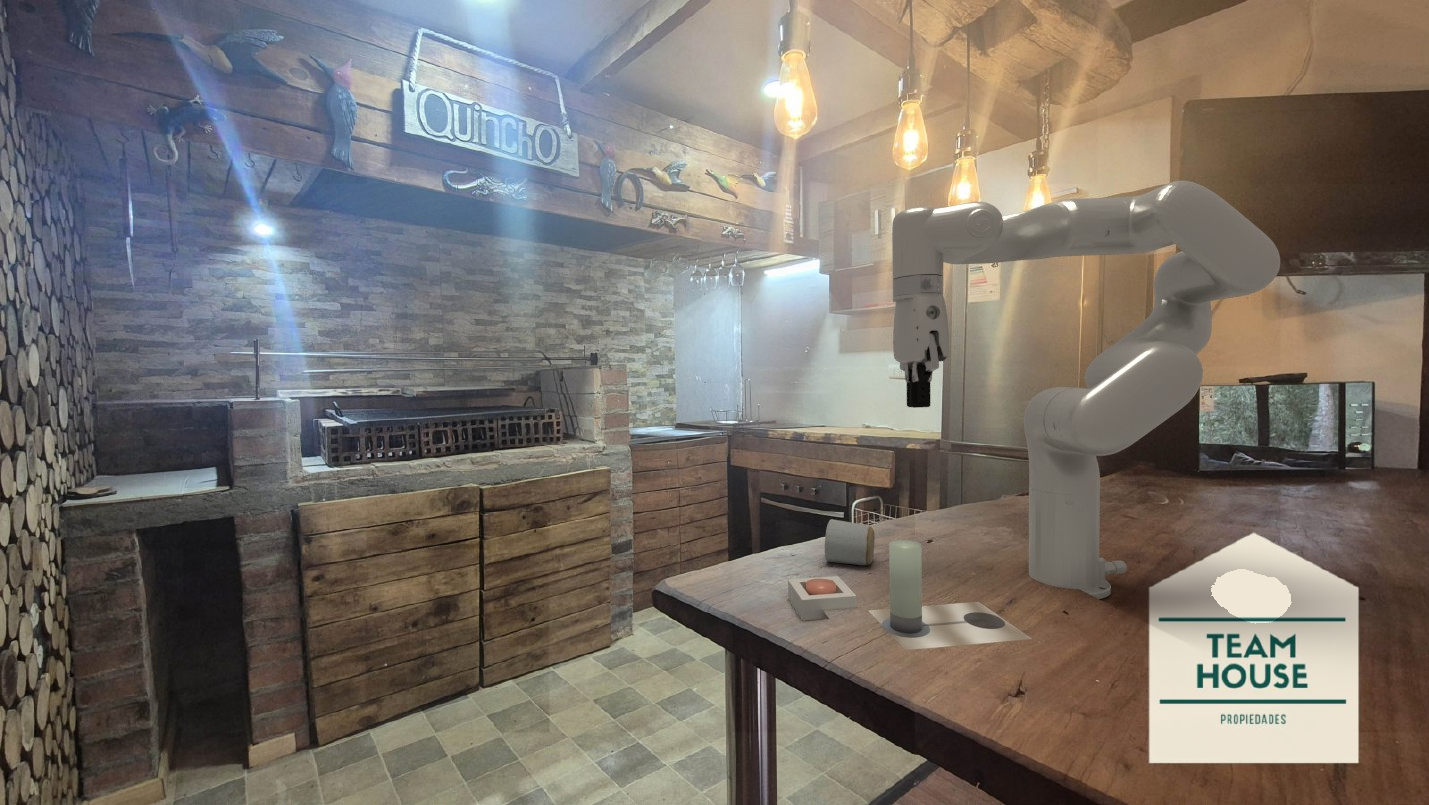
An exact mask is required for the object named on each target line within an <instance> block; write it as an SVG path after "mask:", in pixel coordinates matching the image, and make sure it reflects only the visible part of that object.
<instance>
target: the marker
mask: <svg viewBox="0 0 1429 805" xmlns="http://www.w3.org/2000/svg"><path fill="white" fill-rule="evenodd" d="M888 545H889V547H888V554H889V562H888V563H889V609H890V627H891V628H892V629H894V630H895V631H898V632H901V633H907V634H914V633H918V632H920V631H921V630H922V606H923V589H922V588H923V579H922V578H923V575H922V574H923V572H922V568H923V565H922V564H923V563H922V561H923V559H922V558H923V555H922V554H923V550H922V549H923V548H922V544H921V543H920V542H917V541H914V540H908V539H895V540H892V541H889V544H888Z"/></svg>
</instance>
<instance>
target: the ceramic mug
mask: <svg viewBox="0 0 1429 805" xmlns="http://www.w3.org/2000/svg"><path fill="white" fill-rule="evenodd" d="M875 536H876V535H875V530H874V528H873V527H872V526H870V525H867V524H864V523H863V524H862V523H858V522H857V523H856V522H850V521H844V520H837V519H833V518H831V519H829V521H828V523H827V526H826V530H825V537H824V558H825V560H826V561H827V562H829V563H836V564H837V563H838V564H846V565H847V564H849V565H855V566H869V565H870V564H871V563H872V562H873V558H874V552H875V541H876V540H875V538H876V537H875Z"/></svg>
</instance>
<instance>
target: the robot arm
mask: <svg viewBox="0 0 1429 805" xmlns="http://www.w3.org/2000/svg"><path fill="white" fill-rule="evenodd" d="M891 226H892V229H891V231H892V234H891V235H892V240H891V241H892V243H891V244H892V302H893V303H895V305H894V318H893V335H892V336H893V337H892V339H893V340H892V345H893V346H892V347H893V348H892V349H893V352H892V353H893V358H894V360H895V361H896V362H897V363H899V369H900V370H901V371H903V372H904V380H905V382H906V407H907V408H915V409H916V408H930V407H931V382H932V380H933V372H934V371H936V370H938V369H939V368H940V362H945V361H946V360H948V358H949V356H950V333H949V321H948V313H947V311H948V310H947V305H946V301H945V295H944V263H945V264H950V265H975V264H976V265H977V264H979V265H981V264H996V263H1007V262H1009V263H1010V262H1018V261H1031V260H1032V261H1033V260H1043V259H1044V260H1045V259H1050V258H1051V259H1052V258H1059V257H1061V258H1062V257H1083V256H1085V257H1086V256H1090V257H1091V256H1112V255H1113V256H1115V255H1135V254H1136V255H1138V254H1144V253H1150V252H1152V251H1157V250H1159V249H1164V248H1167V247H1169V246H1173V245H1175V246H1176V247H1177V248H1178V249H1180V251H1179V252H1177V253H1174V254H1172V255H1171V256H1169V257H1168V258H1167V259H1165V260H1164V261H1163V262H1162V264H1160V266H1159V267H1158V269H1157V271H1156V273H1155V276H1154V280H1153V294H1154V295H1153V296H1154V298H1153V299H1154V301H1153V302H1154V303H1153V308H1152V311H1151V312H1150V315H1149V316H1148V317H1147V318H1145V320H1144V321H1142V322H1141V323H1140V324H1139V325H1137V327H1135V328H1134V329H1132V330H1131V331H1130V332H1129V333H1127V334H1125V335H1124V336H1123V337H1121V338H1119V340H1118V341H1116V342H1115V343H1114V344H1112V345H1111V346H1110V347H1108V348H1106V349H1105V350H1103V351H1102V352H1101V353H1099V354H1098V355H1097V356H1096V357H1095V358H1094V359H1093V360H1092V361H1091V362H1090V363H1089V365H1088V367H1087V369H1086V370H1085V374H1084V384H1085V386H1086V388H1084V387H1075V386H1074V387H1072V386H1071V387H1069V386H1055V387H1050V388H1048V389H1047V388H1046V389H1044V390H1042V391H1041V392H1038V393H1037V394H1035V395H1034V396H1033V397H1032V398H1031V399H1030V400H1029V402H1028V403H1027V406H1026V407H1025V410H1024V415H1023V428H1024V430H1023V431H1024V436H1025V440H1026V445H1027V446H1026V447H1027V453H1028V454H1027V456H1028V467H1029V468H1028V473H1029V475H1028V476H1029V478H1028V479H1029V480H1028V481H1029V483H1028V484H1029V485H1028V575H1029V576H1030V578H1031V579H1034V580H1035V581H1037V582H1040V583H1042V584H1045V585H1048V586H1052V587H1056V588H1061V589H1068V590H1080V591H1082V592H1084V593H1086V594H1088V595H1089V596H1092V597H1093V598H1096V599H1098V600H1101V599H1105V598H1107V597H1108V596H1110V594H1112V592H1111V591H1112V586H1111V584H1110V582H1109V581H1108V580H1107V579H1106V577H1109V575H1110V574H1114V575H1115V574H1125V573H1127V571H1128V567H1127V564H1126V563H1125V561H1123V560H1111V561H1106V560H1105V558H1104V557H1100V510H1101V509H1100V505H1101V503H1100V502H1101V501H1100V499H1101V498H1100V496H1101V494H1100V493H1101V475H1100V468H1099V463H1098V459H1097V457H1099V456H1100V457H1103V456H1110V455H1113V454H1117V453H1119V452H1121V451H1124V450H1125V449H1127V448H1129V447H1130V446H1132V445H1133V444H1135V443H1136V442H1138V441H1139V440H1140V439H1142V438H1143V437H1144V436H1146V435H1148V434H1149V433H1150V432H1151V431H1153V430H1154V429H1156V428H1157V427H1158V426H1160V425H1161V424H1163V423H1164V422H1165V421H1166V420H1168V419H1169V418H1171V417H1172V416H1174V415H1175V414H1176V413H1178V412H1179V411H1180V410H1182V409H1183V408H1184V407H1186V405H1187V404H1189V403H1190V402H1191V401H1192V399H1193V398H1194V397H1195V396H1196V394H1197V392H1198V391H1199V389H1200V387H1201V384H1202V381H1203V377H1204V376H1203V375H1204V371H1203V370H1204V369H1203V365H1202V362H1201V360H1200V358H1199V356H1198V354H1199V353H1200V352H1202V351H1203V350H1204V348H1205V347H1206V346H1207V344H1208V343H1209V341H1210V340H1211V336H1212V327H1213V325H1212V324H1213V321H1212V320H1213V316H1212V312H1213V311H1212V303H1211V302H1213V301H1219V300H1225V299H1233V298H1239V297H1245V296H1249V295H1251V294H1255V293H1257V292H1260V291H1261V290H1264V289H1265V288H1267V287H1268V286H1269V285H1270V284H1271V283H1272V282H1273V281H1274V280H1275V278H1277V276H1278V274H1279V272H1280V267H1281V256H1280V252H1279V250H1278V247H1277V246H1276V244H1275V243H1274V241H1273V240H1272V239H1271V238H1270V237H1269V236H1268V235H1267V234H1266V233H1264V231H1262V229H1260V228H1259V227H1258V226H1256V225H1255V223H1253V222H1252V221H1250V220H1249V219H1248V218H1247V217H1245V215H1243V214H1242V213H1241V212H1239V210H1237V209H1236V207H1234V206H1232V205H1231V204H1229V202H1227V200H1225V199H1224V198H1222V197H1221V196H1220V195H1218V194H1217V193H1216V192H1214V191H1212V190H1211V189H1210V188H1209V189H1208V188H1207V187H1206V186H1203V185H1201V184H1199V183H1196V182H1194V181H1189V180H1176V181H1175V180H1174V181H1172V182H1169V183H1166V184H1164V185H1162V186H1160V187H1158V188H1157V187H1156V188H1155V189H1153V190H1151V191H1148V192H1146V193H1144V194H1140V195H1133V196H1115V197H1089V198H1065V199H1061V200H1056V201H1053V202H1049V203H1045V204H1042V205H1040V206H1038V207H1037V206H1036V207H1035V208H1031V209H1029V210H1026V211H1022V212H1018V213H1015V214H1010V215H1004V216H1003V214H1002V212H1001V211H1000V210H999V209H998V207H996V206H995V205H993V204H991V203H988V202H986V201H970V202H965V203H960V204H955V205H950V206H943V207H942V206H941V207H936V208H935V207H930V206H920V207H919V206H918V207H917V206H916V207H912V208H908V209H905V210H901V211H900V212H898V213H897V214H895V216H894V217H893V220H892V225H891Z"/></svg>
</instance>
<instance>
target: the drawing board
mask: <svg viewBox="0 0 1429 805" xmlns="http://www.w3.org/2000/svg"><path fill="white" fill-rule="evenodd" d="M868 612H869V613H870V614H871V615H872V616H873V617H874V619H876V621H877V622H878V623H879V624H880V625H881V626H882V628H883V629H884V630H885V631H886V632H887V633H889V634H890V636H891V637H892V638H893V639H894V640H895V641H896V642H897V643H898V644H899V645H900V646H901V647H902V648H903V649H904V651H912V650H923V649H924V650H925V649H936V648H945V647H947V648H948V647H956V646H957V647H958V646H968V645H969V646H971V645H980V644H981V645H982V644H991V643H1002V642H1014V641H1015V642H1016V641H1027V640H1032V639H1033V638H1032V637H1031V636H1029V635H1028V634H1026V633H1025V632H1023V631H1022V630H1020V629H1018V628H1017V626H1014V625H1013V624H1011V623H1010V622H1009V621H1007V620H1006V619H1004V618H1003V617H1001V616H1000V615H999V614H997V613H996V612H995V611H993V610H991V609H990V608H989V607H987V606H985V605H984V604H982V603H981V602H980V601H971V602H961V603H960V602H959V603H947V604H933V605H932V604H931V605H922V630H921V631H920V632H918V633H914V634H907V633H901V632H898V631H895V630H894V629H892V628H891V627H890V608H882V609H880V608H879V609H869V610H868Z"/></svg>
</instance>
